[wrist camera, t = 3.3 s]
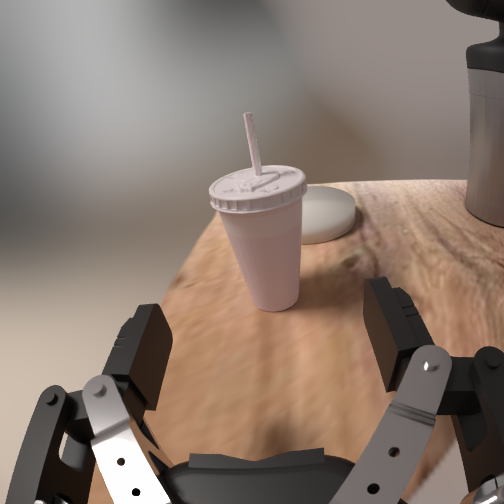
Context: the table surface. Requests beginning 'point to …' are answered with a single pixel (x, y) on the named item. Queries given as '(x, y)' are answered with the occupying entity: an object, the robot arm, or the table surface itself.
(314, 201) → the trivet
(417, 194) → the table surface
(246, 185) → the smoothie
